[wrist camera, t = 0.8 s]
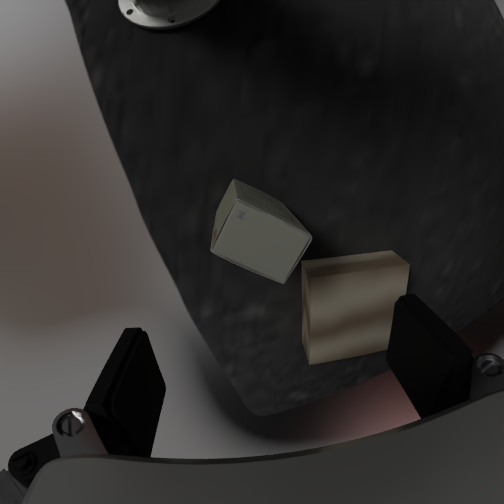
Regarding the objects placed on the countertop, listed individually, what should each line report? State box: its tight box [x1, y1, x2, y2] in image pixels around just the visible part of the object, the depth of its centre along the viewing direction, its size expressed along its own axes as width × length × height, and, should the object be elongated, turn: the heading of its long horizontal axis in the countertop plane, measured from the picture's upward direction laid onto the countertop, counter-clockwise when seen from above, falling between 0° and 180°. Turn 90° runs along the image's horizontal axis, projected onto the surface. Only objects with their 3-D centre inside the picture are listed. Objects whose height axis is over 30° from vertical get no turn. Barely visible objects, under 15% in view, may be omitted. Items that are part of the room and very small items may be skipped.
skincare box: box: [211, 179, 312, 284], centre depth 26 cm, size 6×4×12 cm
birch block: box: [301, 250, 410, 365], centre depth 34 cm, size 12×12×5 cm
